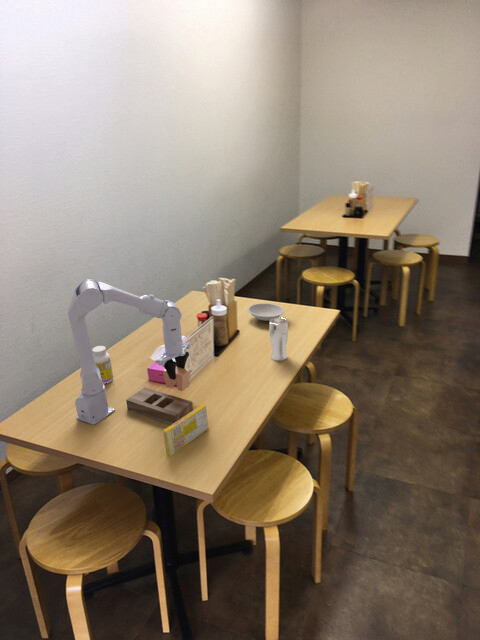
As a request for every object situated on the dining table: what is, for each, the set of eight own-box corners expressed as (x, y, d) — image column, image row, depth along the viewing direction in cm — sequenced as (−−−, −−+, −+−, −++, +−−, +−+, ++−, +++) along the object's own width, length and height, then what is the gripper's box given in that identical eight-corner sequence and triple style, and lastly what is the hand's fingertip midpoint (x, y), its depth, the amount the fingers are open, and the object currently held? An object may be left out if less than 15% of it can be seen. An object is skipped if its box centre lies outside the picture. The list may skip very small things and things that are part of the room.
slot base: (175, 425, 165) (174, 415, 164) (127, 409, 175) (126, 399, 174) (193, 411, 172) (192, 401, 171) (145, 396, 182) (144, 387, 181)
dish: (240, 320, 239) (239, 309, 237) (262, 310, 248) (262, 300, 246) (269, 330, 227) (269, 319, 225) (291, 320, 236) (291, 309, 234)
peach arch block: (183, 391, 177) (182, 375, 174) (164, 385, 181) (162, 370, 178) (191, 386, 180) (189, 370, 177) (172, 380, 184) (170, 365, 181)
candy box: (204, 426, 164) (201, 403, 161) (209, 429, 163) (207, 406, 160) (165, 453, 153) (162, 429, 150) (170, 456, 152) (167, 432, 148)
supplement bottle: (90, 383, 193) (85, 350, 188) (103, 374, 198) (97, 343, 193) (105, 386, 190) (99, 354, 185) (117, 378, 195) (112, 346, 190)
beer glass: (288, 353, 207) (288, 317, 201) (288, 361, 200) (287, 324, 195) (270, 353, 208) (269, 317, 202) (269, 361, 201) (268, 324, 195)
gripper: (168, 350, 166) (172, 388, 171) (196, 332, 177) (199, 368, 182) (150, 345, 169) (155, 383, 174) (179, 328, 180) (182, 364, 186)
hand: (176, 375), depth 179 cm, fingers closed on peach arch block, 4 cm apart
